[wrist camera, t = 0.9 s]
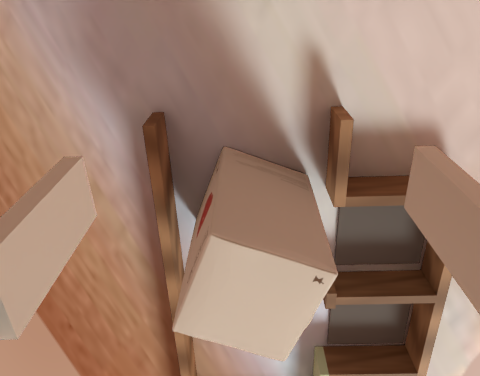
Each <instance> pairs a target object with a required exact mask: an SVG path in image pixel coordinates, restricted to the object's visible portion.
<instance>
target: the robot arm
mask: <svg viewBox="0 0 480 376" xmlns="http://www.w3.org/2000/svg"><path fill="white" fill-rule="evenodd" d="M404 208H405V210H406V211H407V213H408V214H409V215H410V217H411V218H412V220H413V221H414V222H415V224H416V225H417V227H418V228H419V230H420V231H421V232H422V234H423V235H424V237H425V238H426V239H427V241H428V242H429V244H430V245H431V246H432V248H433V249H434V251H435V252H436V254H437V255H438V256H439V258H440V259H441V261H442V262H443V263H444V265H445V266H446V268H447V269H448V271H449V272H450V273H451V275H452V276H453V278H454V279H455V280H456V282H457V283H458V285H459V286H460V287H461V289H462V290H463V292H464V293H465V295H466V296H467V297H468V299H469V300H470V302H471V303H472V304H473V306H474V307H475V309H476V310H477V311H478V313H479V314H480V184H479V183H478V182H477V181H476V180H474V179H473V178H472V177H471V176H470V175H469V174H467V173H466V172H465V171H464V170H463V169H462V168H460V167H459V166H458V165H457V164H456V163H455V162H453V161H452V160H451V159H450V158H449V157H448V156H446V155H445V154H444V153H443V152H442V151H441V150H439V149H438V148H437V147H436V146H415V148H414V154H413V160H412V165H411V171H410V176H409V182H408V187H407V193H406V199H405V204H404ZM96 216H97V213H96V209H95V205H94V201H93V197H92V193H91V188H90V184H89V180H88V176H87V172H86V168H85V163H84V159H83V156H76V157H63V158H62V159H61V160H60V161H59V162H58V163H57V164H56V165H55V166H54V167H53V168H52V169H51V170H50V171H49V172H47V173H46V174H45V175H44V176H43V177H42V178H41V179H40V180H39V181H38V182H37V183H36V184H35V185H34V186H33V187H32V188H31V189H30V190H29V191H28V192H27V193H25V194H24V195H23V196H22V197H21V198H20V199H19V200H18V201H17V202H16V203H15V204H14V205H13V206H12V207H11V208H10V209H9V210H8V211H7V212H6V213H5V214H4V215H2V216H1V217H0V340H5V339H6V340H7V339H18V338H19V337H20V335H21V334H22V332H23V330H24V329H25V327H26V326H27V324H28V323H29V321H30V320H31V318H32V316H33V315H34V313H35V312H36V310H37V309H38V307H39V305H40V304H41V302H42V301H43V299H44V298H45V296H46V294H47V293H48V291H49V290H50V288H51V287H52V285H53V284H54V282H55V280H56V279H57V277H58V276H59V274H60V273H61V271H62V269H63V268H64V266H65V265H66V263H67V262H68V260H69V258H70V257H71V255H72V254H73V252H74V251H75V249H76V248H77V246H78V244H79V243H80V241H81V240H82V238H83V237H84V235H85V233H86V232H87V230H88V229H89V227H90V226H91V224H92V223H93V221H94V219H95V218H96Z"/></svg>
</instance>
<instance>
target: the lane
mask: <svg viewBox="0 0 480 376" xmlns="http://www.w3.org/2000/svg"><path fill="white" fill-rule="evenodd" d="M353 121H354V119H353V118H352V117H351V116H350V115H349V113H348V112H347V111H346V110H345V109H344V108H343V106H339V107H331V118H330V133H329V147H328V162H327V176H326V189H327V191H328V194H329V196H330V199H331V201H332V204H333V206H334V207H360V206H400V205H404V204H405V199H406V193H407V187H408V182H409V176H376V177H348V173H349V163H350V152H351V142H352V131H353ZM142 127H143V133H144V140H145V146H146V153H147V159H148V166H149V172H150V179H151V185H152V192H153V198H154V205H155V212H156V218H157V225H158V231H159V238H160V244H161V251H162V257H163V264H164V270H165V277H166V283H167V290H168V296H169V303H170V309H171V316H172V322H174V317H175V313H176V309H177V304H178V300H179V295H180V291H181V286H182V281H183V277H184V268H183V260H182V252H181V245H180V237H179V229H178V221H177V213H176V205H175V197H174V189H173V181H172V173H171V165H170V157H169V149H168V141H167V133H166V125H165V117H164V112H154V113H152V114H151V116H150V117H149V118H148V120H147V121H146V122H145V124H144V125H143V126H142ZM451 278H452V275H451V273H450V272H449V271H448V269H447V268H446V266H445V265H444V263H443V262H442V261H441V259H440V258H439V256H438V255H437V254H436V252H435V251H434V249H433V248H432V246H431V245H430V244H429V242H428V241H427V244H426V249H425V253H424V258H423V263H422V267H421V270H404V271H357V272H338V275H337V277H336V279H335V281H334V282H333V284H332V286H331V287H330V289H329V290H328V292H327V294H326V295H325V297H324V298H323V300H324V304H325V308H326V309H335V308H336V305H361V304H414V305H413V310H412V314H411V319H410V324H409V328H408V333H407V338H406V342H405V345H382V346H323V349H324V354H325V358H326V363H327V368H328V372H329V376H426V374H427V370H428V366H429V362H430V358H431V355H432V351H433V347H434V343H435V339H436V335H437V332H438V328H439V324H440V320H441V316H442V312H443V308H444V305H445V301H446V297H447V293H448V289H449V285H450V281H451ZM174 335H175V342H176V348H177V355H178V361H179V368H180V374H181V376H197V372H196V364H195V356H194V348H193V340H192V336H188V335H185V334H182V333H179V332H174Z"/></svg>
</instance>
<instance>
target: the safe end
mask: <svg viewBox="0 0 480 376" xmlns="http://www.w3.org/2000/svg"><path fill="white" fill-rule="evenodd" d="M313 376H329V372H328V368H327V363H326V358H325V354H324V349H323V346H318V347H315V350H314V365H313Z"/></svg>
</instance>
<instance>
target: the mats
mask: <svg viewBox="0 0 480 376" xmlns="http://www.w3.org/2000/svg"><path fill="white" fill-rule="evenodd" d="M424 238H425V237H424V235H423V234H422V232H421V231H420V230H419V228H418V227H417V225H416V224H415V222H414V221H413V220H412V218H411V217H410V215H409V214H408V213H407V211H406V210H405V208H404V205H400V206H360V207H339V216H338V228H337V239H336V250H335V261H334V262H335V265H354V264H401V263H419V262H420V257H421V252H422V247H423V243H424ZM410 305H411V304H361V305H336V308H335V309H330V318H329V329H328V340H327V343H328V344H376V343H403V338H404V334H405V329H406V324H407V319H408V314H409V310H410Z"/></svg>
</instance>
